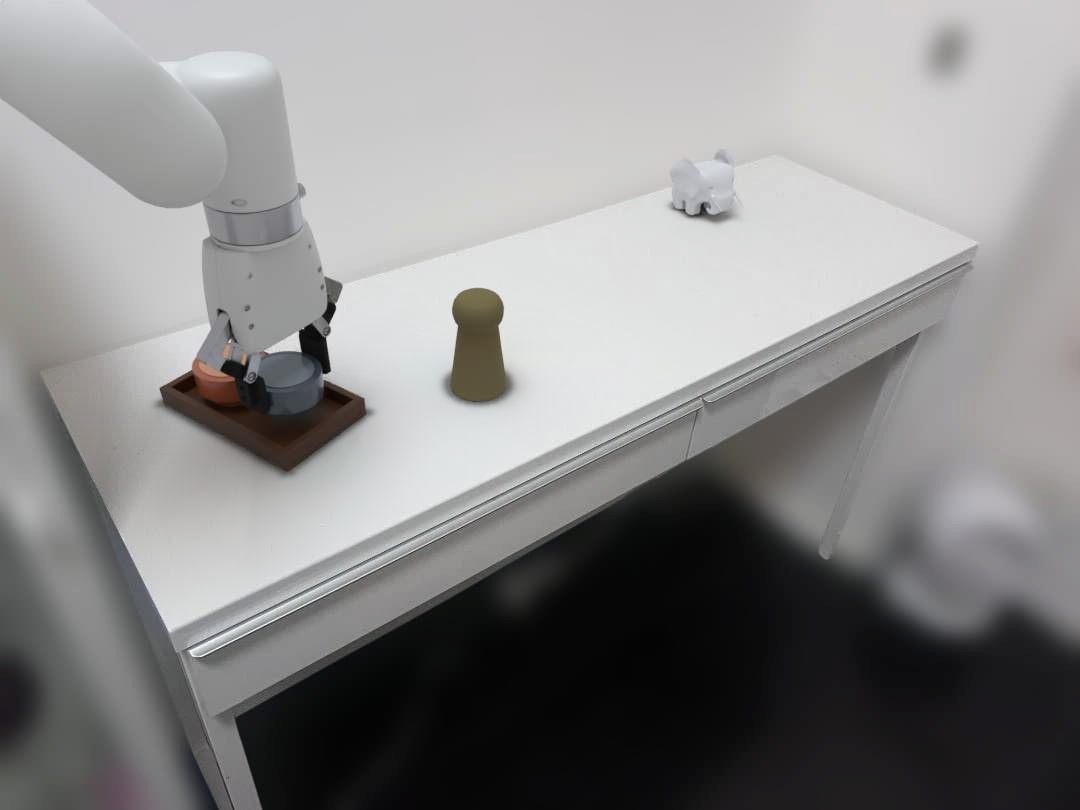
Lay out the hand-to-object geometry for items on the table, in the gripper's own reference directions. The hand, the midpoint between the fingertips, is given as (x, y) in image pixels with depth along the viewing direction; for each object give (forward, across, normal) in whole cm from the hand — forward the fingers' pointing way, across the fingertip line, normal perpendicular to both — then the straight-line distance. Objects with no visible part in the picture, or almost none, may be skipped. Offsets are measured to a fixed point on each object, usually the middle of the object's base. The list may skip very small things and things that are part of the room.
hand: (287, 386), depth 77 cm
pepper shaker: (+5, -16, +11) cm, 20 cm away
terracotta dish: (+4, 0, -8) cm, 9 cm away
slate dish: (+2, 0, 0) cm, 2 cm away
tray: (+4, 0, -4) cm, 6 cm away
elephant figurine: (+5, -73, +12) cm, 74 cm away
